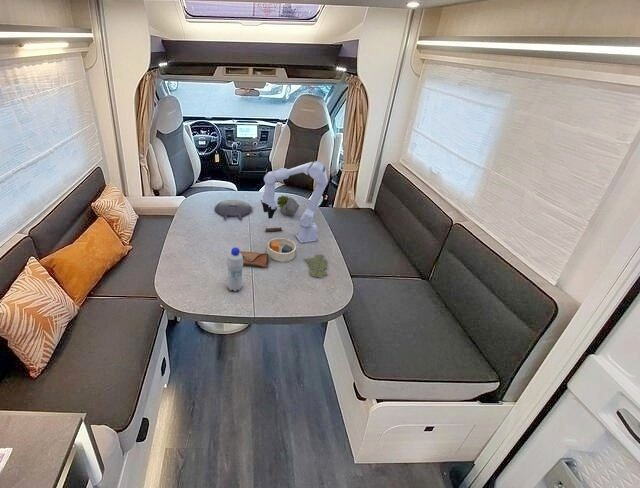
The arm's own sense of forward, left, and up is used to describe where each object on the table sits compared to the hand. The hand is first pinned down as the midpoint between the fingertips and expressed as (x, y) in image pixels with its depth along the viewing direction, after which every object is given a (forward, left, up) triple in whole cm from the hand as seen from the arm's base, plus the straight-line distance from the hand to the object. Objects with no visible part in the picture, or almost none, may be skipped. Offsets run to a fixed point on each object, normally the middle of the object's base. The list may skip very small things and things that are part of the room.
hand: (267, 215), depth 177 cm
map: (-11, +37, -9) cm, 40 cm away
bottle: (+31, +43, -10) cm, 54 cm away
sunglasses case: (+19, +27, -10) cm, 35 cm away
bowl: (+2, +24, -9) cm, 26 cm away
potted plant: (-19, -16, -10) cm, 27 cm away
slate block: (-1, +26, -9) cm, 28 cm away
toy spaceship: (+13, -27, -10) cm, 31 cm away
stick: (+1, +2, -8) cm, 9 cm away
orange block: (+4, +22, -9) cm, 24 cm away
